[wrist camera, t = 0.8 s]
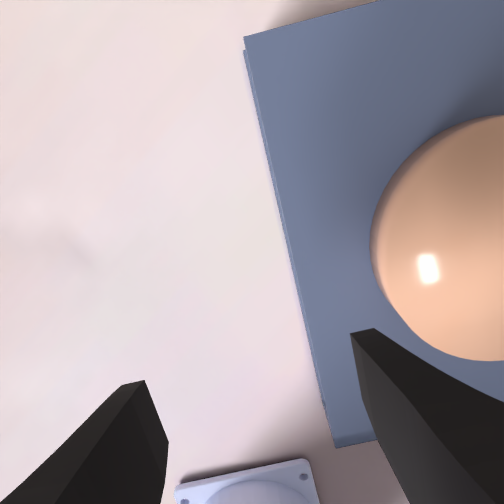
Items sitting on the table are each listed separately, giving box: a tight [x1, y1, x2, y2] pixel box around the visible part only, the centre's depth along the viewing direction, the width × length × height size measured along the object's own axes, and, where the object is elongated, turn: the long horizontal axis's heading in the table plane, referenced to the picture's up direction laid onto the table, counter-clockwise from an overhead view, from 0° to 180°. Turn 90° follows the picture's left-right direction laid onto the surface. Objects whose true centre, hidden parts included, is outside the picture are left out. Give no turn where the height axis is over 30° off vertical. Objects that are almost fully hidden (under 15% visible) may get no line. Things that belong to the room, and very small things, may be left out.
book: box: [243, 0, 504, 448], centre depth 17 cm, size 18×13×3 cm
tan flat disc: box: [369, 115, 504, 361], centre depth 15 cm, size 9×9×2 cm
